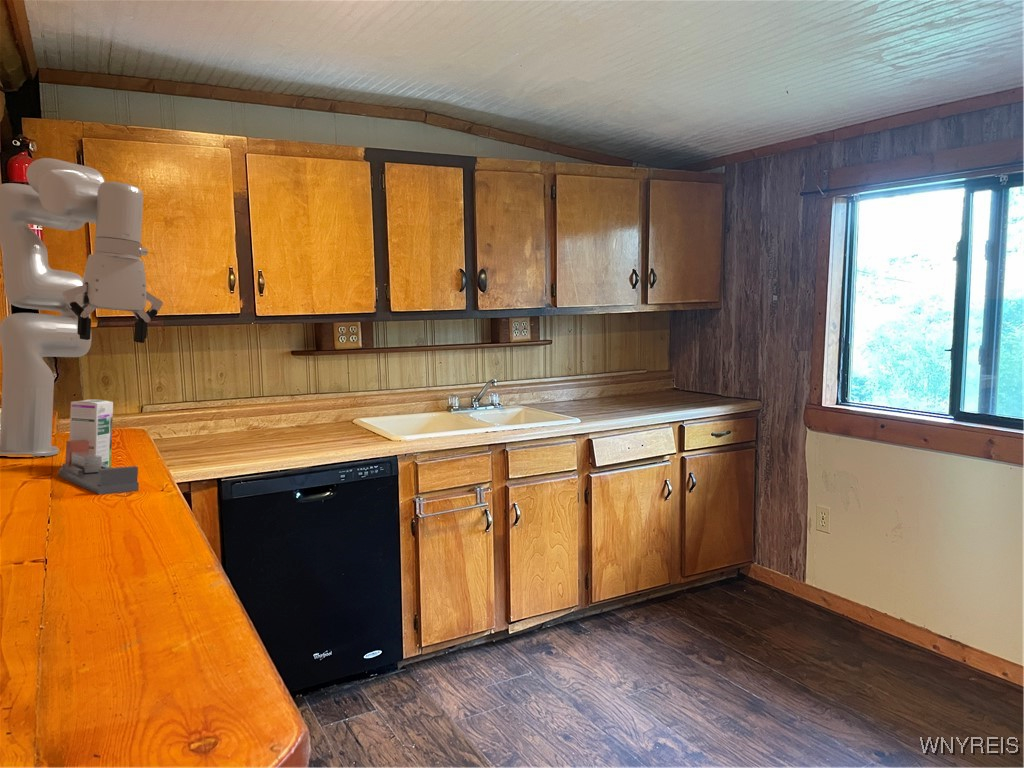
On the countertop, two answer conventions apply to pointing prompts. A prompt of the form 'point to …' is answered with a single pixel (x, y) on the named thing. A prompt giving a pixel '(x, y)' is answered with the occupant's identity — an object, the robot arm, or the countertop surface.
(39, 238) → the robot arm
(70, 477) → the press bed
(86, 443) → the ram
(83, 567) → the countertop surface
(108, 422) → the syrup box
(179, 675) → the countertop surface
